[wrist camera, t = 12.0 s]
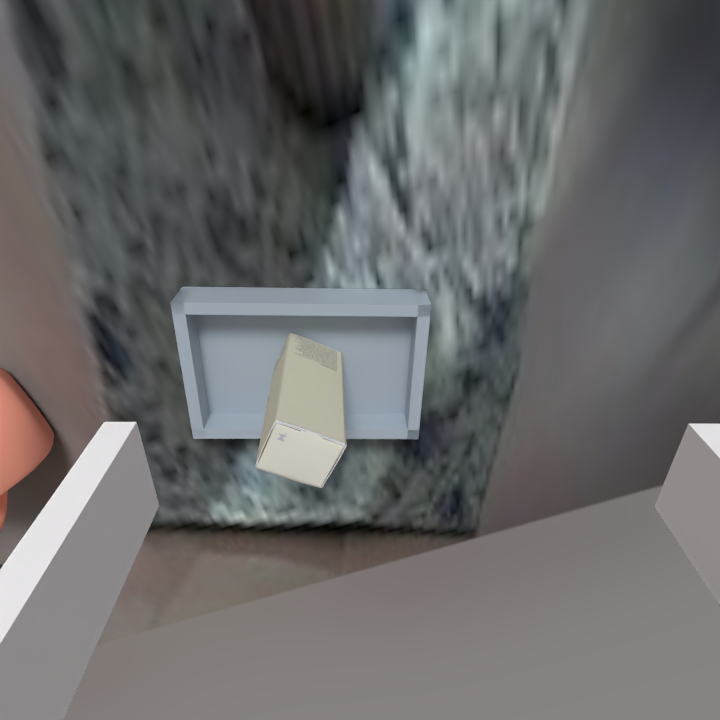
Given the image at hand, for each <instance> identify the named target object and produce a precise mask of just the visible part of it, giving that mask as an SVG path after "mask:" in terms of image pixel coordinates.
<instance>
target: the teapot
mask: <svg viewBox="0 0 720 720" xmlns="http://www.w3.org/2000/svg"><path fill="white" fill-rule="evenodd" d="M53 441H54V433H53V431H52V429H51V427H50V426H49V424H48V423H47V421H46V420H45V418H44V417H43V416H42V414H41V413H40V411H39V410H38V409H37V407H36V406H35V405H34V403H33V402H32V401H31V399H30V398H29V397H28V396H27V394H26V393H25V392H24V391H23V389H22V388H21V387H20V386H19V384H18V383H17V382H16V381H15V380H14V379H13V378H12V376H11V375H10V374H9V373H8V372H6V371H5V370H4V369H1V368H0V531H1V529H2V527H3V525H4V522H5V518H6V513H7V499H8V490H9V489H10V488H11V487H13V486H14V485H15V484H17V483H18V482H19V481H21V480H22V479H23V478H24V477H26V476H27V475H28V474H29V473H30V472H32V471H33V470H34V469H35V468H36V467H37V466H38V465H39V464H40V463H41V462H42V461H43V460H44V459H45V457H46V456H47V455H48V454H49V452H50V450H51V448H52V445H53Z"/></svg>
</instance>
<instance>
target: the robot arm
mask: <svg viewBox="0 0 720 720" xmlns="http://www.w3.org/2000/svg"><path fill="white" fill-rule="evenodd" d="M158 507H159V503H158V499H157V496H156V492H155V488H154V485H153V481H152V477H151V474H150V470H149V466H148V463H147V459H146V455H145V451H144V448H143V444H142V440H141V437H140V433H139V429H138V426H137V422H104V423H103V424H102V426H101V427H100V429H99V430H98V431H97V433H96V434H95V436H94V437H93V439H92V440H91V441H90V443H89V444H88V446H87V447H86V449H85V450H84V451H83V453H82V454H81V456H80V457H79V458H78V460H77V461H76V463H75V464H74V466H73V467H72V468H71V470H70V471H69V473H68V474H67V475H66V477H65V478H64V480H63V481H62V483H61V484H60V485H59V487H58V488H57V490H56V491H55V493H54V494H53V495H52V497H51V498H50V500H49V501H48V502H47V504H46V505H45V507H44V508H43V510H42V511H41V512H40V514H39V515H38V517H37V518H36V519H35V521H34V522H33V524H32V525H31V527H30V528H29V529H28V531H27V532H26V534H25V535H24V537H23V538H22V539H21V541H20V542H19V544H18V545H17V546H16V548H15V549H14V551H13V552H12V554H11V555H10V556H9V558H8V559H7V561H6V562H5V563H4V565H0V720H63V718H64V716H65V714H66V712H67V710H68V707H69V705H70V703H71V701H72V699H73V696H74V694H75V692H76V690H77V687H78V685H79V683H80V681H81V678H82V676H83V674H84V672H85V669H86V667H87V665H88V663H89V661H90V658H91V656H92V654H93V652H94V650H95V647H96V645H97V643H98V641H99V638H100V636H101V634H102V632H103V629H104V627H105V625H106V623H107V621H108V618H109V616H110V614H111V612H112V609H113V607H114V605H115V603H116V601H117V598H118V596H119V594H120V592H121V589H122V587H123V585H124V583H125V580H126V578H127V576H128V574H129V572H130V569H131V567H132V565H133V563H134V560H135V558H136V556H137V554H138V552H139V549H140V547H141V545H142V543H143V540H144V538H145V536H146V534H147V531H148V529H149V527H150V525H151V523H152V520H153V518H154V516H155V514H156V511H157V509H158ZM654 507H655V509H656V510H657V512H658V513H659V515H660V516H661V518H662V519H663V521H664V522H665V524H666V525H667V527H668V528H669V530H670V531H671V533H672V534H673V536H674V537H675V539H676V540H677V542H678V543H679V545H680V546H681V548H682V550H683V551H684V552H685V554H686V556H687V557H688V559H689V560H690V562H691V563H692V565H693V566H694V568H695V569H696V571H697V572H698V574H699V575H700V576H701V578H702V580H703V581H704V583H705V584H706V586H707V587H708V589H709V590H710V592H711V593H712V595H713V596H714V598H715V599H716V601H717V602H718V604H719V605H720V424H688V426H687V428H686V431H685V433H684V436H683V438H682V440H681V443H680V445H679V448H678V450H677V452H676V455H675V457H674V460H673V462H672V465H671V467H670V469H669V472H668V474H667V477H666V479H665V481H664V484H663V486H662V489H661V491H660V494H659V496H658V498H657V501H656V503H655V506H654Z"/></svg>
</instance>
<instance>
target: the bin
mask: <svg viewBox="0 0 720 720" xmlns="http://www.w3.org/2000/svg"><path fill="white" fill-rule="evenodd" d="M170 304H171V309H172V315H173V321H174V327H175V333H176V339H177V345H178V351H179V357H180V363H181V369H182V374H183V380H184V386H185V392H186V398H187V404H188V410H189V416H190V422H191V428H192V433H193V439H260V438H261V433H262V428H263V423H264V418H265V412H266V407H267V402H268V397H269V392H270V386H271V381H272V376H273V371H274V368H275V365H276V362H277V360H278V358H279V355H280V353H281V351H282V348H283V346H284V344H285V341H286V339H287V337H288V335H289V333H293V334H296V335H299V336H302V337H304V338H307V339H310V340H312V341H315V342H317V343H320V344H323V345H325V346H328V347H330V348H332V349H335V350H337V351H339V352H341V353H342V361H343V387H344V410H345V430H346V439H418V435H419V425H420V415H421V405H422V394H423V384H424V374H425V364H426V353H427V343H428V333H429V323H430V312H431V303H430V301H429V298H428V295H427V293H426V290H418V289H332V288H247V287H182V288H181V289H180V290H179V292H178V293H177V294H176V296H175V297H174V298H173V299H172V301H171V302H170Z"/></svg>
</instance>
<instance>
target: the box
mask: <svg viewBox="0 0 720 720" xmlns="http://www.w3.org/2000/svg"><path fill="white" fill-rule="evenodd" d="M346 447H347V442H346V430H345V410H344V387H343V361H342V353H341V352H339V351H337V350H335V349H332V348H330V347H328V346H325V345H323V344H320V343H317V342H315V341H312V340H310V339H307V338H304V337H302V336H299V335H296V334H293V333H289V335H288V337H287V339H286V341H285V344H284V346H283V348H282V351H281V353H280V355H279V358H278V360H277V362H276V365H275V368H274V371H273V376H272V381H271V386H270V392H269V397H268V402H267V407H266V412H265V418H264V423H263V428H262V433H261V438H260V444H259V449H258V455H257V460H256V468H258V469H260V470H264V471H267V472H269V473H272V474H276V475H279V476H282V477H285V478H288V479H291V480H294V481H298V482H301V483H304V484H308V485H312V486H315V487H319V488H322V487H323V486H324V484H325V482H326V481H327V479H328V477H329V476H330V474H331V473H332V471H333V469H334V468H335V466H336V464H337V463H338V461H339V459H340V457H341V456H342V454H343V452H344V450H345V448H346Z"/></svg>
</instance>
